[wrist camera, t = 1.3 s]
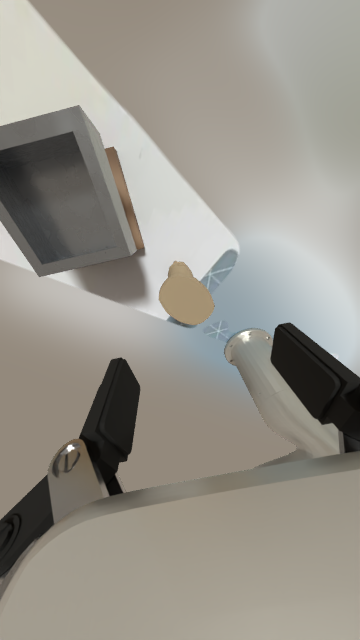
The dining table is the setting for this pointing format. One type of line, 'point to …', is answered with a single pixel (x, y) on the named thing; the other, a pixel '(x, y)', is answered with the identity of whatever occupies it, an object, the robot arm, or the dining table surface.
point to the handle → (185, 296)
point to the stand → (124, 195)
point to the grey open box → (61, 193)
